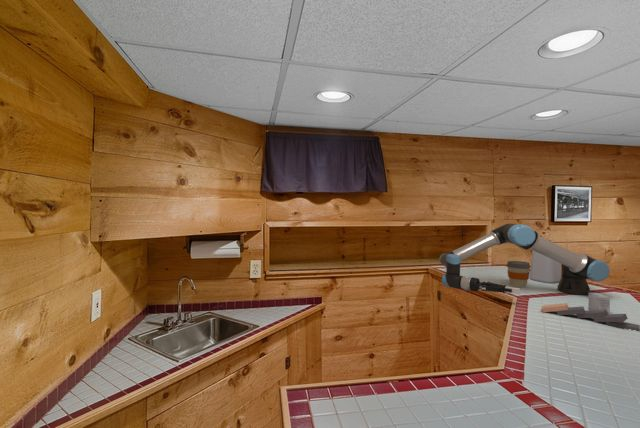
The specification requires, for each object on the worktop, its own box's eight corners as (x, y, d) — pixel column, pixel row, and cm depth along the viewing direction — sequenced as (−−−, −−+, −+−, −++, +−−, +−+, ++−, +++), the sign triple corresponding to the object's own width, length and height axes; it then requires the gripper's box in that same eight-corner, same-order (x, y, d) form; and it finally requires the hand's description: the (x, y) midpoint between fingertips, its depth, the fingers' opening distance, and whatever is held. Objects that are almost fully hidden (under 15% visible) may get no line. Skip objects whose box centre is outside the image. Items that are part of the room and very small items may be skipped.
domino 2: (575, 313, 140) (603, 312, 132) (579, 310, 143) (606, 309, 135) (577, 318, 139) (605, 316, 132) (581, 315, 142) (608, 313, 134)
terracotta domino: (540, 308, 148) (565, 305, 141) (542, 305, 151) (566, 303, 145) (542, 312, 147) (567, 310, 141) (544, 309, 151) (568, 307, 145)
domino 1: (556, 311, 144) (582, 309, 137) (557, 308, 147) (583, 306, 141) (557, 315, 143) (584, 313, 137) (558, 312, 147) (585, 310, 141)
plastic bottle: (527, 279, 213) (527, 239, 212) (540, 277, 219) (540, 238, 218) (550, 284, 199) (550, 241, 199) (564, 281, 205) (564, 240, 205)
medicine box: (610, 315, 142) (610, 297, 142) (599, 315, 143) (599, 297, 143) (598, 310, 150) (598, 292, 150) (588, 309, 151) (588, 292, 151)
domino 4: (605, 321, 132) (639, 328, 124) (607, 318, 135) (639, 325, 128) (605, 326, 132) (638, 333, 124) (607, 322, 135) (639, 329, 128)
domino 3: (592, 317, 135) (621, 316, 126) (597, 314, 137) (625, 313, 129) (594, 322, 134) (623, 321, 126) (599, 319, 137) (627, 318, 128)
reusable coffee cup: (507, 282, 205) (507, 260, 205) (530, 284, 198) (530, 262, 198) (506, 286, 195) (506, 263, 195) (529, 289, 188) (529, 265, 188)
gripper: (474, 288, 177) (522, 295, 161) (467, 292, 167) (517, 301, 151) (474, 275, 177) (522, 281, 161) (467, 279, 167) (517, 286, 151)
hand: (519, 291), depth 156 cm, fingers closed
